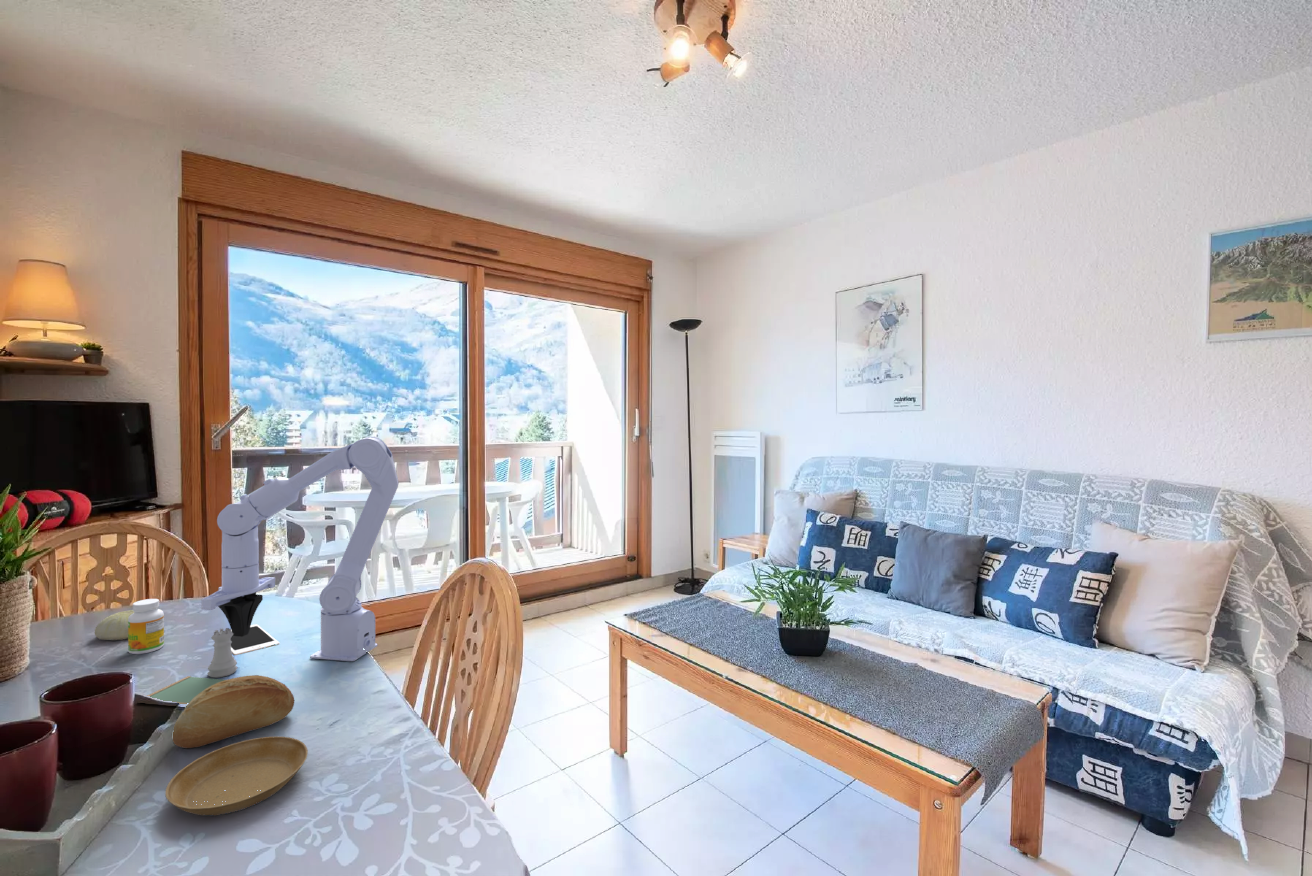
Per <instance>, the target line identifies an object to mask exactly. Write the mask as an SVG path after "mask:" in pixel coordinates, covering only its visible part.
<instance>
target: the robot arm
mask: <svg viewBox="0 0 1312 876" xmlns="http://www.w3.org/2000/svg"><path fill="white" fill-rule="evenodd" d="M354 467H355V468H356V469H357V470H358V471H360V473H362V474H363V475H364V477H365V479H366V480H367V482H368V483H369V486H370V487H371V489H370V492H369V494H368V497H367V499H366V502H365V504H364V506H363V509H362V510H361V513H360V514H359V518H358V521H357V522H356V525H355V527H354V530H353V532H352V534H351V537H350V539H349V542H348V544H347V546H346V548H345V551H344V553H343V555H342V558H341V560H340V562H339V565H338V567H337V568H336V571H335V572H334V574H333V575H332V576H331V577H330V578H329V579H328V582H327V584H326V585H325V587H323V588H322V591H321V592H320V594H319V598H318V599H319V604H320V606H321V607H320V650H317V651H316V652H314V653H312V654H310V656H309V658H310V659H316V660H319V659H320V660H329V661H330V660H331V661H343V662H355V661H356V660H358V659H360V658H361V657H363V656H364V655H366V654H367V653H369V652H370V651H372V650H373V649H375V648H377V647H378V643H376V615H375V612H373V610H369V609H366V608H364V607H363V606H362V601H360V599H359V598H358V597H357V596H358V594H359V592H360V590H361V589H362V574H363V571H364V569H365V566H366V564H367V561H368V559H369V556H370V554H371V552H372V550H373V547H374V544H375V542H376V540H377V538H378V536H379V533H380V530H381V528H382V526H383V523H384V521H385V518H386V516H387V514H388V511H389V509H390V508H391V507H390V506H391V504H392V502H393V500H394V497H395V495H396V492H397V491H398V488H399V477H398V473H397V471H396V465H395V462H394V457H393V453H392V451H391V450H390V448H389V447H388V445H387V444H386V443H385V441H384V440H382V439H380V438H379V437H376V436H367V437H364V438H360V439H358V440H356V441H355V442H353V443H350V444H348V445H346V446H343V447H340V448H338V449H335V450H333V451H331V452H329V453H328V454H325V456H323V457H321V458H320V459H318V460H317V461H315V462H314V463H312V464H310V465H308V467H305V468H304V469H302V470H301V471H299V472H298V473H296V474H295V475H293V476H291V477H290V478H287V477H281V476H280V477H276V478H272V477H269V478H268V479H266V480H264V481H263V482H262V483H263V484H264V485H263V486H260V487H259V488H257V489H255V490H253V491H252V492H250V493H249V494H247V493H244V494H243V495H241V496H239V499H240V500H239V501H237V502H235V503H230V504H226V506H225V507H224V508H223V509H222V510H221V511H220V512H219V514H218V515H217V517H216V518H217V519H216V523H217V527H218V528H219V529H220V530H221V586H219V587H218V590H217V591H215V592H213V593H211V594H210V595H208V596H205V597H204V598H201V599H200V600H201V602H200V603H201V606H200V607H201V610H204V611H205V610H206V611H213V610H215V609H216V608H217V607H218V608H219V609H220V610H221V612H222V613H223V614H224V616H225V617H226V619H227V622H228V624H229V628H230V629H231V630H232V633H233V636H241V637H242V636H245V635H247V634H248V633H249V629H250V626H251V625H252V622H253V619H254V617H255V615H256V611H257V610H258V608H259V606H260V604H261V603H262V601H263V600H264V599H263V596H264V595H263V594H257V593H259V592H261V591H263V590H266V589H273V588H275V587H276V577H273V576H271V577H270V576H266V577H262V578H260V565H259V564H260V559H259V558H260V554H259V553H260V551H259V550H260V548H259V547H260V545H259V544H260V542H259V541H260V540H259V525H260V524H261V523H262V521H265V520H268V519H270V518H271V517H273V516H274V515H277V513H279V512H281V511H283V510H284V509H286V508H288V507H289V506H291V505H293V504H295V503H296V502H297V501H298V500H299V495H300V492H301V491H303V490H304V489H306V488H308V487H309V486H311V485H312V484H315V483H317V482H318V481H319V480H321V479H323V478H325V477H327V476H328V475H330V474H332V473H334V472H335V471H338V470H339V471H340V470H341V471H342V470H350V469H353V468H354ZM363 648H364V649H365V650H363ZM366 651H367V653H366Z"/></svg>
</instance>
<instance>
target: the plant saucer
mask: <svg viewBox="0 0 1312 876" xmlns="http://www.w3.org/2000/svg"><path fill="white" fill-rule="evenodd" d="M308 753H309V750H308V747H307V746H306V744H305V743H304V741H301V740H300V739H297V738H294V737H289V736H264V737H263V736H262V737H257V738H255V737H254V738H251V739H246V740H242V741H237V742H234V743H231V744H229V745H225V746H223V747H221V748H218V749H214V750H212V751H211V752H208V753H206V754H204V755H203V756H200V757H198V758H196V759H195V760H193V761H192V762H190V763H188V765H186V766H184V767H183V768H181V769H180V770H179V771H178V772H177V773H176V774H175V775H174V776H172V778H171V779H170V781H169V782H168V784H167V786H166V788H165V790H164V791H165V793H164V794H165V798H166V800H167V801H168V802H169V803H170V804H172V806H174V807H176V808H177V809H180V810H181V811H183V812H186V813H190V814H194V815H198V816H204V815H214V816H220V814H222V815H225V813H227V814H231V813H230V812H232V813H235V811H236V812H238V810H239V811H242V810H245V809H248V808H250V806H251V807H252V805H253V806H255V805H257V803H258V804H260V803H261V801H262V802H263V801H265V800H267V799H269V798H270V797H273V796H274V795H275V794H276V793H277V792H279V791H280V790H282V788H283V787H284V786H286V785H287V784H288V783H289V782H290V781H291V780H292V779H293V777H294V776H295V775H296V774H297V773H298V771H299V770H300V769H301V768H302V766H303V765H304V763H305V762H306V760H307V758H308ZM224 790H226V791H224ZM257 790H258V791H257ZM260 790H261V791H260ZM249 796H250V797H249ZM268 797H269V798H268ZM193 801H194V802H193ZM196 801H197V802H196ZM204 801H205V802H204ZM207 801H208V802H207ZM222 801H223V802H222ZM225 801H226V802H225ZM259 802H260V803H259ZM196 804H197V805H196ZM201 804H202V805H201ZM214 804H215V805H214ZM222 804H223V805H222ZM254 804H255V805H254ZM247 807H248V808H247ZM244 808H245V809H244ZM241 809H242V810H241Z"/></svg>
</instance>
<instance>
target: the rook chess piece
mask: <svg viewBox="0 0 1312 876" xmlns="http://www.w3.org/2000/svg"><path fill="white" fill-rule="evenodd" d="M232 635H233V633H232V632H231V628H230V627H226V628H225V630H224V628H219V630H218V629H216V630H214V631H213V635H211V640H213V641H214V642H213V645H212V646H213V648H214V649H213V650H214V651H213V657H212V660H211V661H210V664H209V665H208V667H207V670H208V672H207V676H208V677H209V678H211V679H221V678H224V677H228V676H231V675H232V674H235V672H236V671H237V669H238V666H237V665H238V661H237V660H236V659H235V656H233V653H232V652H231V643H232V641H231V640H230V639H231V637H232Z"/></svg>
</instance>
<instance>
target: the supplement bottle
mask: <svg viewBox="0 0 1312 876" xmlns="http://www.w3.org/2000/svg"><path fill="white" fill-rule="evenodd" d="M159 607H160V599H158V598H147V599H146V598H145V599H141V600H138V601H135V602H133V603H132V610H133V611H134V613H133V614H131V615H130V616H129V618H128V639H127V641H128V642H127V650H128V653H129V654H133V655H141V654H142V655H143V654H149V653H153V652H155V651H158V650H160V649H162V648H163V647H164V645H165V630H164V629H165V621H164V620H165V614H164V611H163V610H162V609H159Z"/></svg>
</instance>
